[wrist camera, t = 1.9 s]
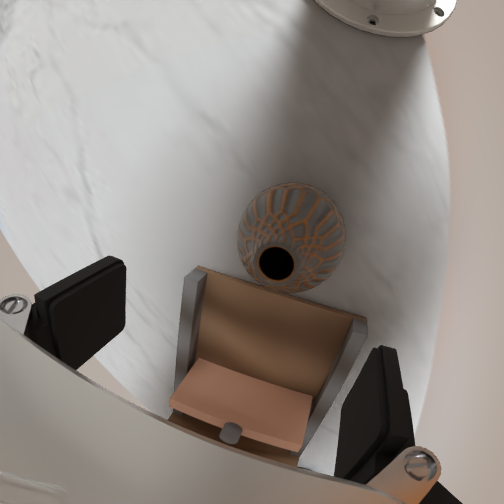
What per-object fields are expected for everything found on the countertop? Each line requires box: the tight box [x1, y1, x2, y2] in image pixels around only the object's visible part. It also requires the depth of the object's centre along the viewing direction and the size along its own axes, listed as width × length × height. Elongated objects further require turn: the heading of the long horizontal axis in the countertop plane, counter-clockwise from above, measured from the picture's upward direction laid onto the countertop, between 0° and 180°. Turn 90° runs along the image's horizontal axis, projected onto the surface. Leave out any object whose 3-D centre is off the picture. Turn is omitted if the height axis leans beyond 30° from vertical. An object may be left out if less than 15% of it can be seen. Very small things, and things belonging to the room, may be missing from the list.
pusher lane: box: [168, 266, 368, 467], centre depth 26 cm, size 19×15×8 cm
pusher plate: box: [170, 358, 313, 452], centre depth 26 cm, size 2×12×8 cm, turn 78°
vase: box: [237, 183, 345, 293], centre depth 20 cm, size 7×7×9 cm
